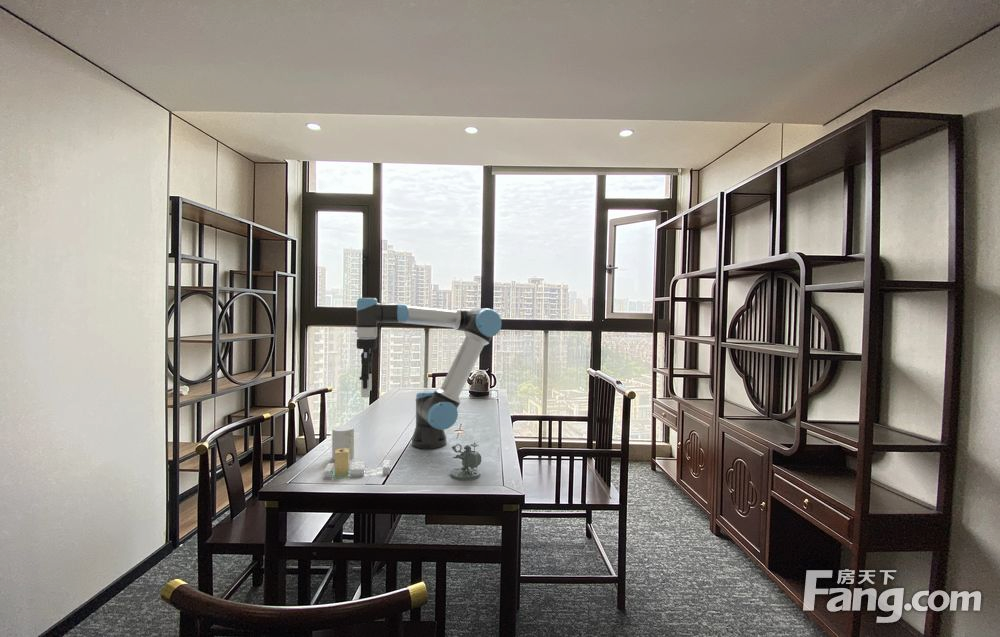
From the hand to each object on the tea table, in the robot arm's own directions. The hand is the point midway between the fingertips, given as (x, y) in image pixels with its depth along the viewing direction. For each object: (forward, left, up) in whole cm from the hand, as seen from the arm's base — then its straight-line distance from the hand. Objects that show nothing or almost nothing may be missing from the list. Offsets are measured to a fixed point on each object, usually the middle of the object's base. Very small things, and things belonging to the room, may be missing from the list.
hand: (366, 393), depth 173 cm
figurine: (-36, +20, -27) cm, 49 cm away
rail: (+2, +11, -27) cm, 29 cm away
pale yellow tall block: (+8, +11, -26) cm, 29 cm away
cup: (+9, -7, -27) cm, 29 cm away
